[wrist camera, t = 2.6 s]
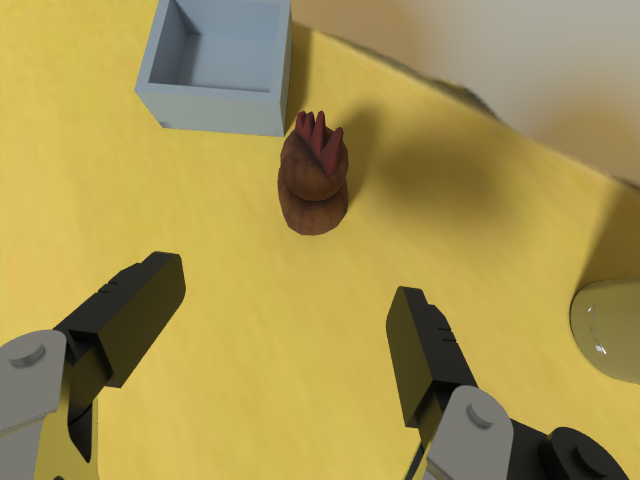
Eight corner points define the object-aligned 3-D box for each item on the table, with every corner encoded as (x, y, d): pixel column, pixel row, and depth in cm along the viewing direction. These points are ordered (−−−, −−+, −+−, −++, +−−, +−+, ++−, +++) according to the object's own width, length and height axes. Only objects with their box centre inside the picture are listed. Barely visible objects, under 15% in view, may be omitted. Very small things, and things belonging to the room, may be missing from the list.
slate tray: (292, 44, 32) (290, -2, 28) (284, 136, 29) (279, 102, 24) (184, 34, 32) (162, -14, 27) (162, 127, 29) (134, 91, 24)
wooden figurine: (346, 238, 27) (395, 153, 12) (289, 249, 26) (269, 173, 12) (331, 177, 28) (359, 38, 14) (277, 186, 28) (247, 51, 13)
